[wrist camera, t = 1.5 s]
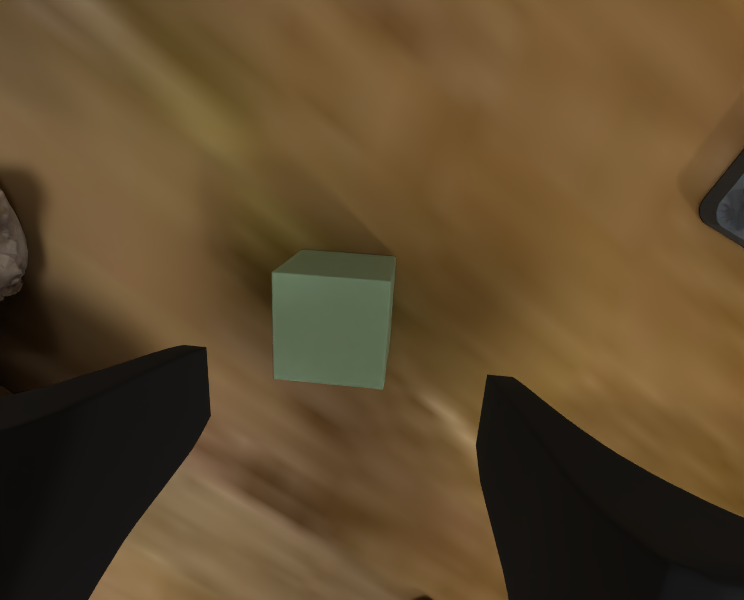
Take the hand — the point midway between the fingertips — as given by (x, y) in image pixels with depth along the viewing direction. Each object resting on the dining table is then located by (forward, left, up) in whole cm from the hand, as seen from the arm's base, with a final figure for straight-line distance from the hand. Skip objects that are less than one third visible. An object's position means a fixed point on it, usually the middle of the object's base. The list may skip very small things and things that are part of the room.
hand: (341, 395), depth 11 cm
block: (-1, +1, -8) cm, 8 cm away
